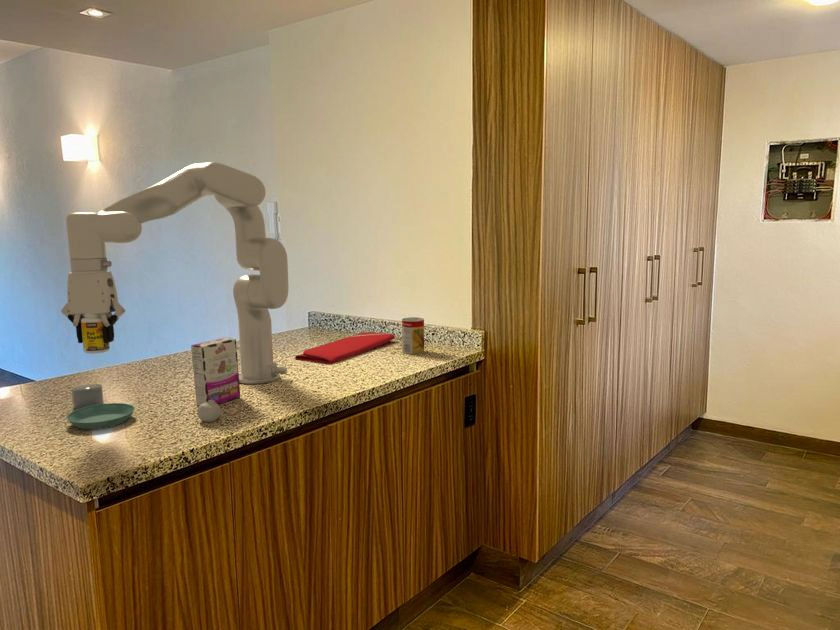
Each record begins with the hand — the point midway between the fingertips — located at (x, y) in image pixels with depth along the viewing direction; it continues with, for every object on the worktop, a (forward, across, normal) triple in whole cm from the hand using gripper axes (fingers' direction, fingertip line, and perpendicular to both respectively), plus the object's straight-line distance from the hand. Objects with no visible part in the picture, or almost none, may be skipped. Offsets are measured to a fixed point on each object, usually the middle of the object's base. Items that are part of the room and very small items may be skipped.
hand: (96, 341), depth 147 cm
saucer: (+20, 0, 0) cm, 20 cm away
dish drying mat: (+20, -45, -80) cm, 94 cm away
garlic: (+20, -26, -2) cm, 33 cm away
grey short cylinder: (+20, +11, -12) cm, 26 cm away
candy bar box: (+20, -22, -17) cm, 34 cm away
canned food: (+20, -69, -78) cm, 106 cm away
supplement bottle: (+3, 0, 0) cm, 3 cm away
